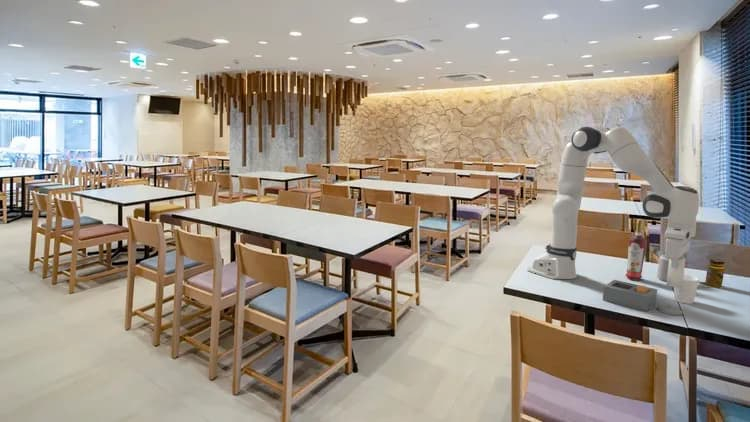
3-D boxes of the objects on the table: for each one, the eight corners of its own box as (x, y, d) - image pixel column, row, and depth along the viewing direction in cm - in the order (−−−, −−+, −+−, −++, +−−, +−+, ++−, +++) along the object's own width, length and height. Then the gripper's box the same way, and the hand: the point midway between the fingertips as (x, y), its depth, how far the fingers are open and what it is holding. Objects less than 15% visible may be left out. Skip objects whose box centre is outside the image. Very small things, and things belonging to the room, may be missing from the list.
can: (678, 283, 202) (682, 257, 199) (660, 281, 203) (664, 256, 201) (671, 277, 209) (674, 253, 207) (654, 276, 210) (657, 252, 208)
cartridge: (664, 285, 167) (668, 254, 165) (668, 282, 170) (671, 252, 168) (680, 288, 163) (684, 257, 161) (683, 285, 167) (687, 254, 165)
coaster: (655, 311, 169) (655, 309, 169) (660, 305, 174) (660, 304, 174) (679, 317, 163) (679, 315, 163) (684, 311, 169) (685, 310, 168)
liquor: (644, 279, 206) (651, 220, 202) (639, 282, 202) (646, 222, 197) (627, 275, 212) (634, 218, 207) (622, 278, 207) (628, 220, 202)
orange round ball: (634, 297, 175) (635, 286, 174) (636, 295, 177) (638, 284, 176) (644, 300, 172) (646, 289, 171) (647, 297, 174) (648, 287, 174)
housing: (602, 300, 179) (604, 286, 178) (612, 293, 188) (614, 279, 187) (646, 311, 168) (648, 296, 167) (655, 303, 176) (657, 289, 175)
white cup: (672, 296, 185) (675, 273, 183) (695, 300, 181) (698, 276, 179) (671, 301, 179) (674, 278, 177) (695, 306, 174) (699, 282, 172)
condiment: (725, 289, 194) (729, 263, 192) (703, 287, 197) (706, 261, 194) (718, 284, 201) (722, 258, 199) (696, 282, 203) (700, 257, 201)
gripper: (677, 225, 173) (673, 259, 175) (663, 233, 158) (659, 269, 161) (697, 227, 168) (692, 262, 170) (684, 235, 154) (679, 273, 156)
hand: (676, 266), depth 166 cm, fingers closed on cartridge, 5 cm apart
